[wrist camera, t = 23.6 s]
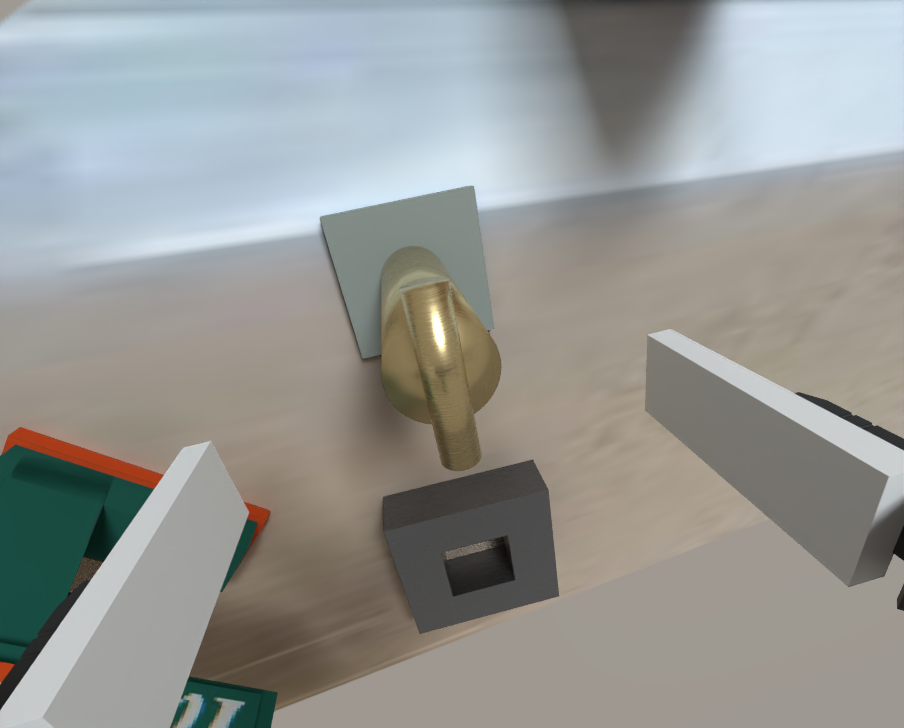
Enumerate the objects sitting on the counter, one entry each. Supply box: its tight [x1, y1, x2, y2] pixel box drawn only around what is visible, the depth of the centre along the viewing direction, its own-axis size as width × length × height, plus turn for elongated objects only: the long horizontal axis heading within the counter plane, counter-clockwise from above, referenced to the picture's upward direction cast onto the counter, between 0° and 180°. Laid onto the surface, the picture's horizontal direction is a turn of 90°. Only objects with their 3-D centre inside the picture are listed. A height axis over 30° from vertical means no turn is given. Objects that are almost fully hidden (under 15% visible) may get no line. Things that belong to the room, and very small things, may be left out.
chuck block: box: [383, 460, 559, 634], centre depth 39 cm, size 14×14×4 cm
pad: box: [320, 186, 494, 359], centre depth 29 cm, size 10×10×1 cm
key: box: [381, 246, 501, 471], centre depth 21 cm, size 4×7×16 cm, turn 10°
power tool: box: [0, 427, 277, 728], centre depth 27 cm, size 32×7×20 cm, turn 56°
